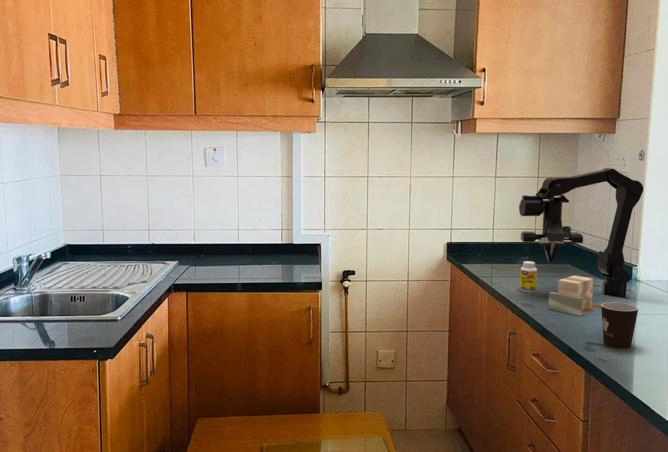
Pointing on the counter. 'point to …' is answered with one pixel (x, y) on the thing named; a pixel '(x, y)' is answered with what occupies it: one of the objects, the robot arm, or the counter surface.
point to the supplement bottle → (528, 277)
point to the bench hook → (569, 304)
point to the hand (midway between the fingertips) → (550, 263)
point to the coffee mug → (618, 324)
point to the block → (577, 288)
